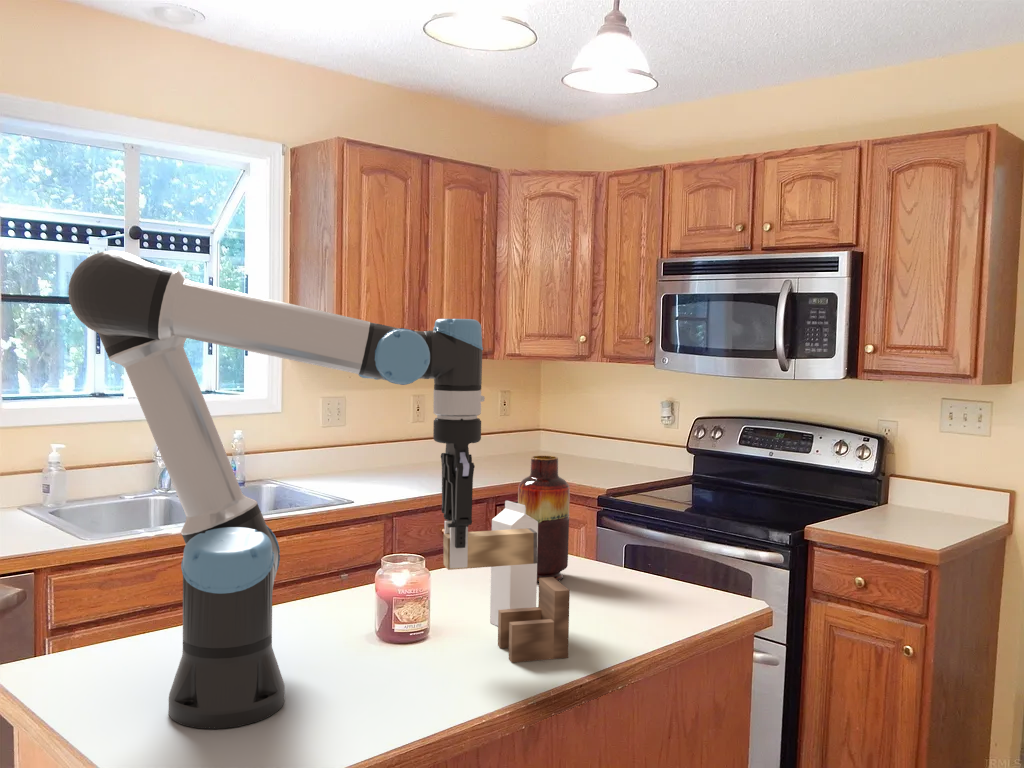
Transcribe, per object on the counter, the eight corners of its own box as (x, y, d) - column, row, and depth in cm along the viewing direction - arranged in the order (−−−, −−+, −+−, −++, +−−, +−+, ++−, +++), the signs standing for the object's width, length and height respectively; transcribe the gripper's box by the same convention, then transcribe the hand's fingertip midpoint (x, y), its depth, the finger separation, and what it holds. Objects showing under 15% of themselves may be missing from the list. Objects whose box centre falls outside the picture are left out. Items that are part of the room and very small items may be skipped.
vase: (512, 582, 186) (515, 459, 185) (520, 569, 197) (523, 453, 196) (564, 586, 184) (567, 461, 183) (570, 572, 195) (572, 455, 194)
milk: (509, 632, 154) (511, 507, 153) (489, 623, 159) (491, 501, 158) (536, 626, 158) (538, 503, 157) (516, 617, 163) (518, 498, 162)
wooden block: (448, 569, 138) (447, 538, 138) (443, 564, 142) (443, 533, 141) (537, 563, 142) (537, 532, 142) (530, 558, 146) (530, 528, 145)
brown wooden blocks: (511, 662, 140) (512, 593, 139) (497, 645, 147) (499, 580, 147) (568, 657, 142) (569, 590, 142) (551, 640, 150) (553, 576, 150)
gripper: (493, 421, 132) (491, 576, 133) (468, 412, 148) (466, 550, 149) (444, 422, 130) (442, 579, 131) (424, 412, 146) (422, 552, 147)
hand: (455, 563), depth 140 cm, fingers closed on wooden block, 3 cm apart
